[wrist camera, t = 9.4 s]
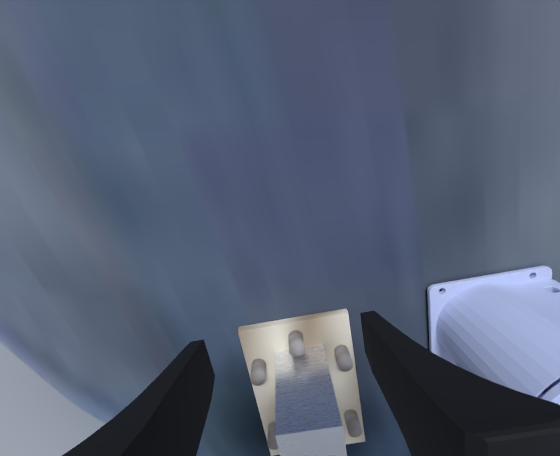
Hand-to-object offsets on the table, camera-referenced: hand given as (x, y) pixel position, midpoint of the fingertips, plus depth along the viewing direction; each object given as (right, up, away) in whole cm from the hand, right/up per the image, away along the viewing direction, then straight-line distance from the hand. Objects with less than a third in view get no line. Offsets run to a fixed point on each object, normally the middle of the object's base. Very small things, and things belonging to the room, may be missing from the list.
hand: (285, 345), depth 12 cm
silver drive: (+2, -9, +12) cm, 15 cm away
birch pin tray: (+2, -9, +12) cm, 15 cm away
